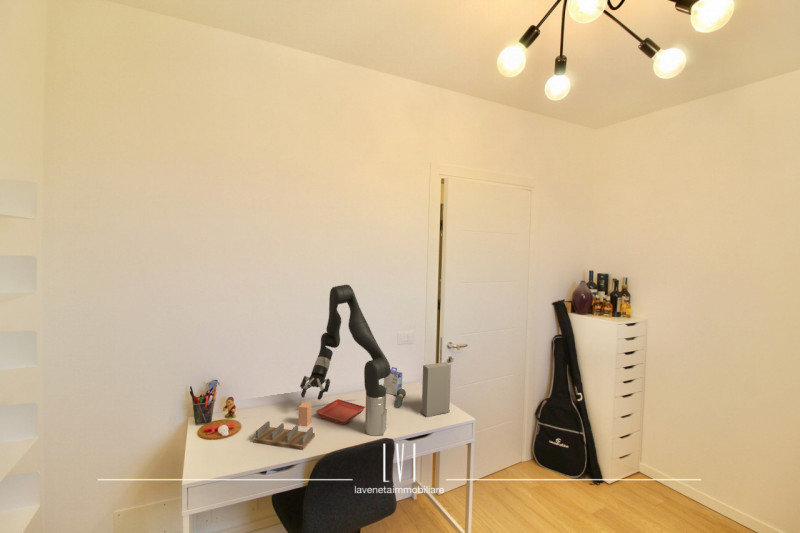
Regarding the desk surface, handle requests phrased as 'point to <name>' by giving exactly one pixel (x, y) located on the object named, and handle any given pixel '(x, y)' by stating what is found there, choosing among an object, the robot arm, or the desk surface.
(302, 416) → the terracotta block
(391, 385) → the ink cartridge box
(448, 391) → the tall grey upright block
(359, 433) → the desk surface
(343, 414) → the plant saucer
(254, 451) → the desk surface
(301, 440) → the walnut rack
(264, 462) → the desk surface
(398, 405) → the flashlight
